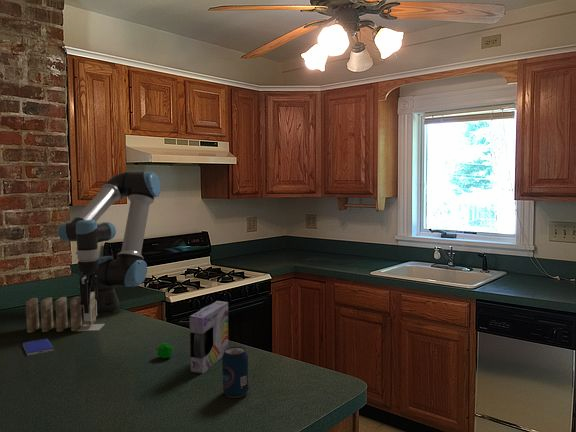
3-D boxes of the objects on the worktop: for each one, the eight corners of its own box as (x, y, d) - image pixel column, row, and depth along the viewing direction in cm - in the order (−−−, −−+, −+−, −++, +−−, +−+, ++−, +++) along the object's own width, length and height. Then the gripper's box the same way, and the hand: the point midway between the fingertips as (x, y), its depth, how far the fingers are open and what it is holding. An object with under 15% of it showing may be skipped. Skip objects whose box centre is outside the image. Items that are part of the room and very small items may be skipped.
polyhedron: (175, 355, 165) (175, 341, 164) (168, 361, 160) (167, 346, 159) (162, 354, 166) (161, 340, 166) (154, 359, 161) (153, 345, 161)
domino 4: (82, 326, 199) (80, 296, 198) (76, 330, 193) (75, 300, 192) (76, 326, 199) (75, 296, 198) (71, 330, 193) (69, 300, 192)
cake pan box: (202, 375, 148) (200, 317, 147) (187, 373, 150) (185, 315, 148) (230, 353, 166) (229, 301, 165) (216, 351, 168) (215, 300, 166)
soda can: (217, 393, 136) (216, 350, 135) (237, 385, 140) (236, 343, 139) (233, 401, 131) (232, 356, 130) (254, 392, 136) (253, 349, 135)
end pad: (104, 324, 201) (104, 323, 201) (98, 330, 193) (98, 329, 193) (84, 325, 200) (84, 324, 200) (77, 331, 192) (77, 330, 192)
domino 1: (39, 327, 198) (37, 297, 197) (32, 332, 192) (30, 301, 191) (34, 327, 198) (32, 297, 197) (27, 332, 192) (25, 301, 191)
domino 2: (53, 327, 198) (52, 297, 197) (47, 331, 192) (45, 301, 191) (48, 327, 198) (46, 297, 197) (42, 331, 192) (40, 301, 191)
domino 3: (67, 326, 199) (66, 296, 198) (62, 331, 193) (60, 300, 192) (62, 326, 199) (61, 297, 198) (56, 331, 193) (55, 300, 192)
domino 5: (95, 320, 199) (94, 291, 198) (91, 325, 193) (89, 294, 192) (90, 321, 199) (89, 291, 198) (85, 325, 193) (84, 295, 192)
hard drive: (22, 342, 177) (27, 352, 167) (48, 338, 182) (53, 347, 171) (22, 347, 177) (27, 357, 167) (48, 342, 182) (54, 352, 171)
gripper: (86, 256, 203) (88, 312, 205) (69, 264, 185) (72, 326, 186) (105, 255, 204) (107, 311, 206) (89, 264, 185) (92, 325, 187)
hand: (90, 318), depth 196 cm, fingers closed on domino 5, 6 cm apart
